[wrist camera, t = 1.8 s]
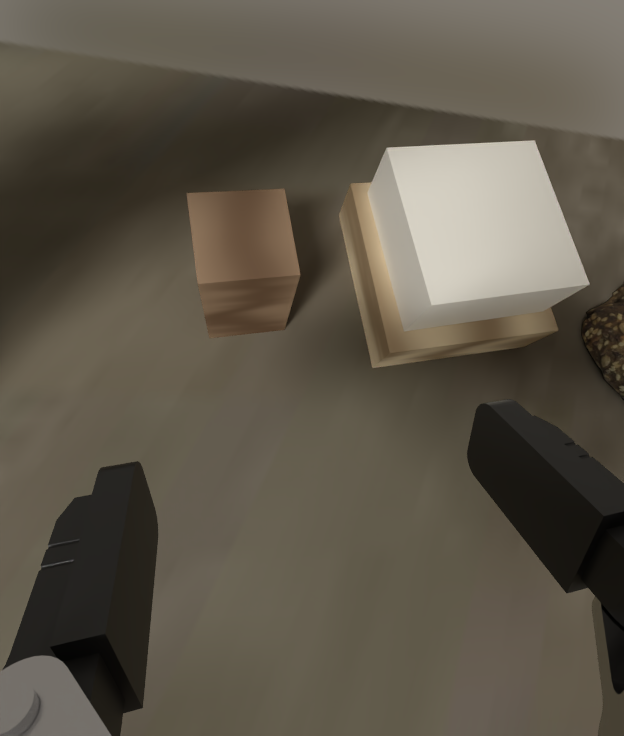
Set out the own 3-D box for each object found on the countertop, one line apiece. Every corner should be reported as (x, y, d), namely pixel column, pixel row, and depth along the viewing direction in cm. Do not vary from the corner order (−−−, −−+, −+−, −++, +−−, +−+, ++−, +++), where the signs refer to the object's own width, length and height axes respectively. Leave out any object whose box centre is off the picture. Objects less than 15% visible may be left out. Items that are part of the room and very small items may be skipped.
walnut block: (209, 338, 28) (197, 283, 20) (200, 269, 29) (186, 193, 21) (284, 329, 29) (300, 274, 21) (273, 263, 30) (284, 188, 22)
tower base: (370, 369, 29) (389, 353, 26) (337, 218, 32) (350, 183, 28) (520, 348, 32) (558, 330, 28) (478, 209, 35) (507, 176, 31)
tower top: (404, 331, 26) (431, 305, 22) (367, 192, 28) (386, 147, 25) (542, 311, 28) (589, 284, 24) (497, 183, 30) (534, 140, 27)
